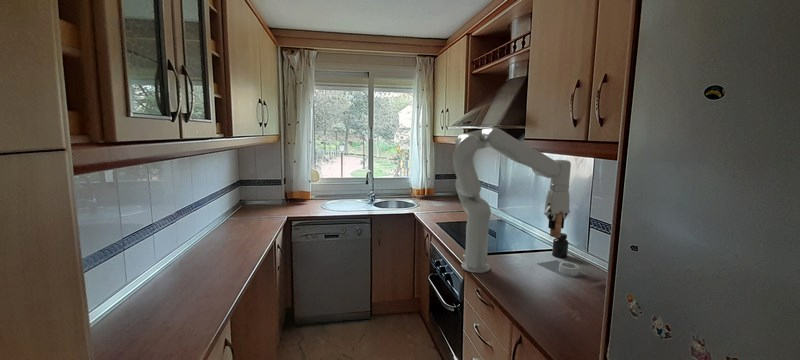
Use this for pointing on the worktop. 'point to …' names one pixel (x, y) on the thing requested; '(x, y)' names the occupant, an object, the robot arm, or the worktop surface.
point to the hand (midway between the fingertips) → (555, 227)
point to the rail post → (557, 226)
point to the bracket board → (563, 268)
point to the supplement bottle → (560, 246)
